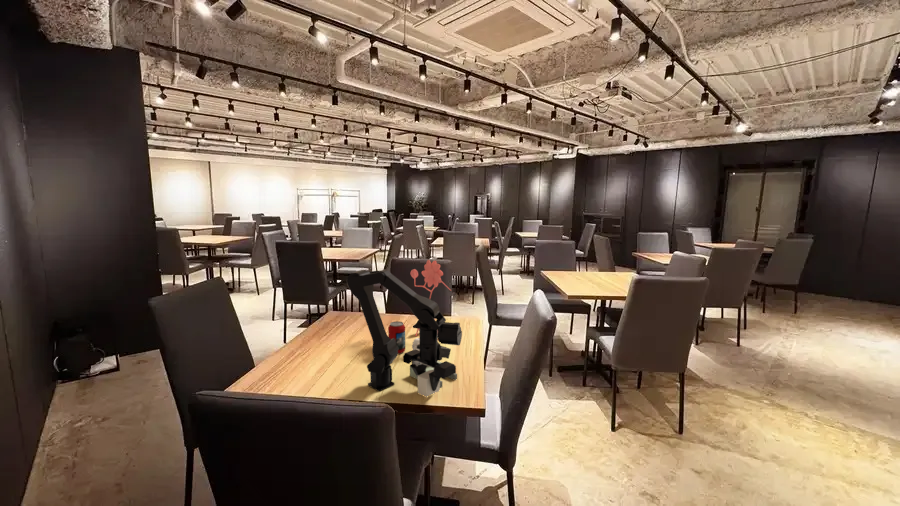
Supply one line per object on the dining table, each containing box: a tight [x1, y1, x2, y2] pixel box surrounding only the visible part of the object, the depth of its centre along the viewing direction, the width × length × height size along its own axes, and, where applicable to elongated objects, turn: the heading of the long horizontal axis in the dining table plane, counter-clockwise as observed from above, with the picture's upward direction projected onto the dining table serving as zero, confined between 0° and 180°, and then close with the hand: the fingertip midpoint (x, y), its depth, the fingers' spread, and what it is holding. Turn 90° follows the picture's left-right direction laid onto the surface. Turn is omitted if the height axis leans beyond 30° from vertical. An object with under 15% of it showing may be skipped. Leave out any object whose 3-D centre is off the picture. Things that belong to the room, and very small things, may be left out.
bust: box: [411, 337, 420, 351], centre depth 151 cm, size 12×8×11 cm
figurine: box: [410, 259, 452, 345], centre depth 171 cm, size 15×26×35 cm, turn 48°
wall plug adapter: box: [409, 360, 458, 389], centre depth 131 cm, size 10×14×6 cm
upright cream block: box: [417, 370, 441, 398], centre depth 121 cm, size 4×6×6 cm, turn 138°
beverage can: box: [387, 320, 406, 355], centre depth 153 cm, size 7×7×12 cm
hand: (428, 388), depth 121 cm, fingers open, 5 cm apart
